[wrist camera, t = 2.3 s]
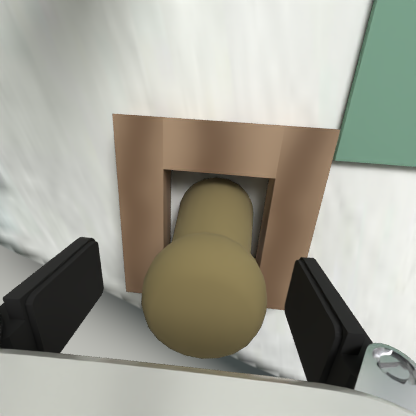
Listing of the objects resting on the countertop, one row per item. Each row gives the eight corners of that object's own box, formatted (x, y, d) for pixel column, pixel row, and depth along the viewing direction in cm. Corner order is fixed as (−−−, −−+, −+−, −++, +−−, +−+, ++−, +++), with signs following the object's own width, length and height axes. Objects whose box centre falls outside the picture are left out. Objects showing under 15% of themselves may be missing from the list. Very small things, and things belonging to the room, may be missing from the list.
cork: (256, 177, 17) (299, 258, 7) (251, 247, 19) (277, 391, 9) (177, 176, 17) (103, 250, 7) (181, 244, 19) (128, 377, 9)
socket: (325, 129, 15) (340, 129, 13) (286, 292, 20) (293, 311, 18) (127, 115, 16) (112, 113, 14) (136, 275, 21) (126, 291, 19)
